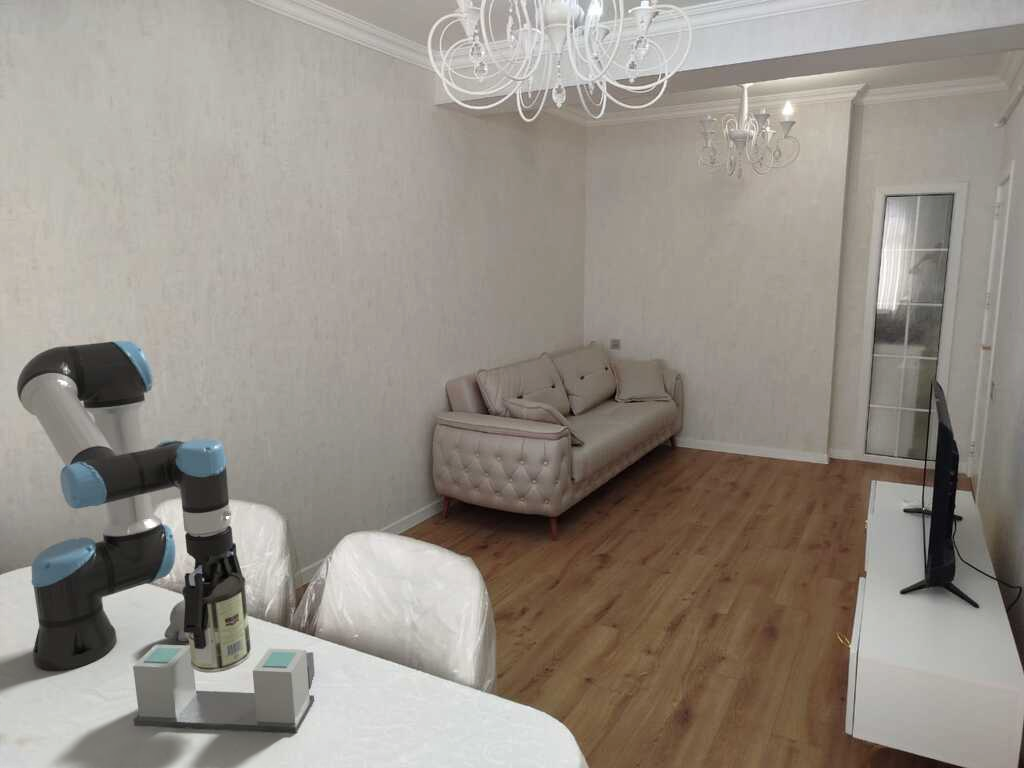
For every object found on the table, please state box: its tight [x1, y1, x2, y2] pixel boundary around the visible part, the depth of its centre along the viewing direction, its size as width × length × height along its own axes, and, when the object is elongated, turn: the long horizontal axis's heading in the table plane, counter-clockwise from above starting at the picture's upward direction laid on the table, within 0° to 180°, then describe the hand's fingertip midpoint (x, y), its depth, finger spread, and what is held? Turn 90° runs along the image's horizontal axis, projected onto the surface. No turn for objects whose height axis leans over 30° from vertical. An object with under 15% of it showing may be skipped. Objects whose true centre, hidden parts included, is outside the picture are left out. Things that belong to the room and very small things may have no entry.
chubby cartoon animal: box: [164, 599, 189, 642], centre depth 158 cm, size 7×12×8 cm, turn 158°
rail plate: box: [132, 690, 315, 734], centre depth 131 cm, size 30×9×1 cm, turn 85°
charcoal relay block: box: [306, 651, 316, 690], centre depth 140 cm, size 5×5×5 cm
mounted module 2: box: [252, 648, 310, 723], centre depth 129 cm, size 7×7×10 cm
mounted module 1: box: [132, 644, 197, 718], centre depth 131 cm, size 7×7×10 cm
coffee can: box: [181, 572, 252, 674], centre depth 127 cm, size 10×10×14 cm
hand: (220, 645), depth 128 cm, fingers closed on coffee can, 10 cm apart
